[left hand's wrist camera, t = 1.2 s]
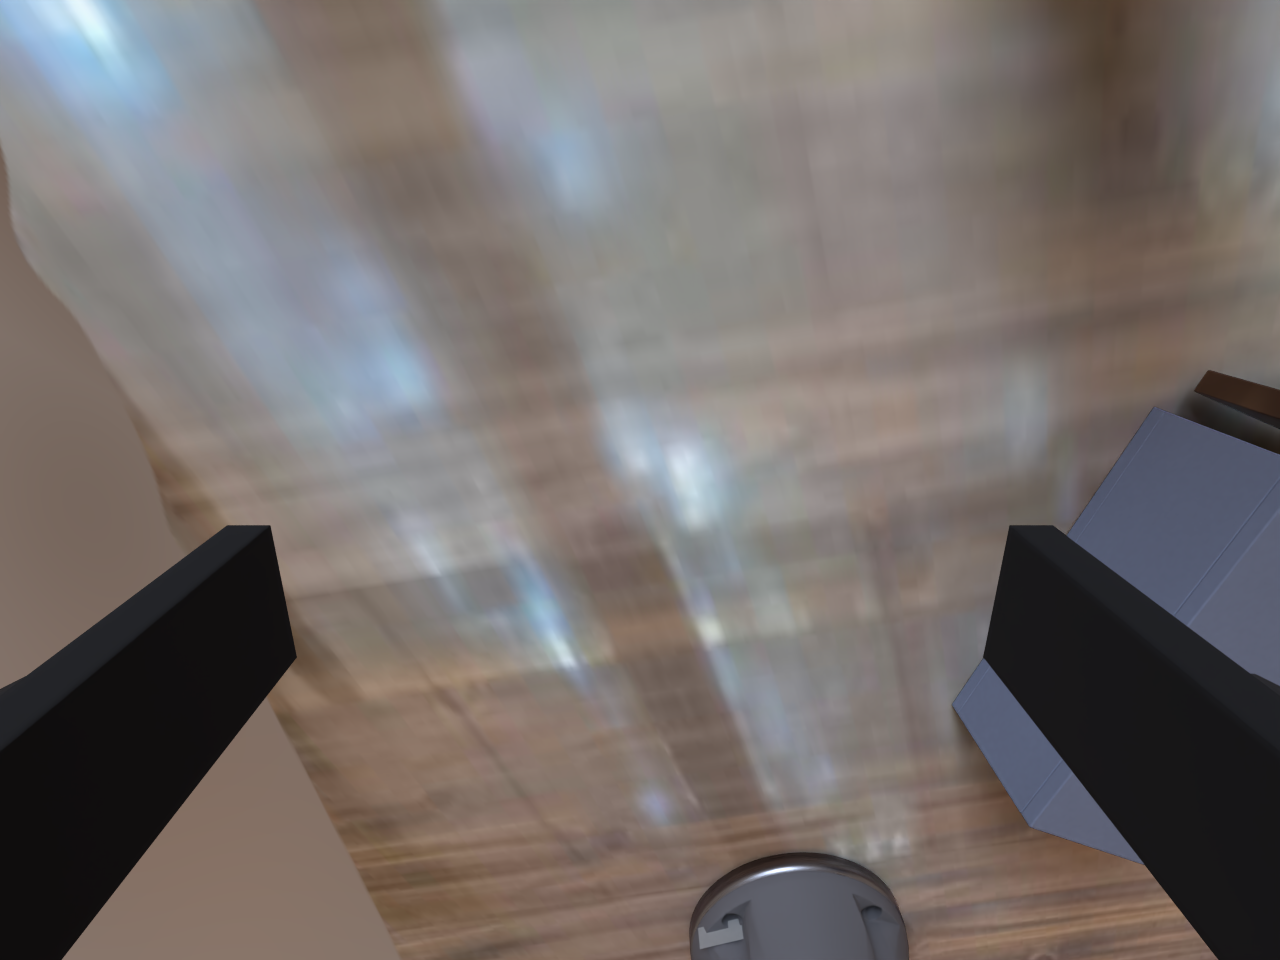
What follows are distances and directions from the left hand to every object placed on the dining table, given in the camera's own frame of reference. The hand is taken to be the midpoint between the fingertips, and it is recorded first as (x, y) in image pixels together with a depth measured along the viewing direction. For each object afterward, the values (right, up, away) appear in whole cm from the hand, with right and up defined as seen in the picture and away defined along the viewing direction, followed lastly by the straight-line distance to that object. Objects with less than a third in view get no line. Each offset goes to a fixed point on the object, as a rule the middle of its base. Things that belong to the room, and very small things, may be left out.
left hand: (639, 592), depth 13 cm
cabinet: (+28, -5, +29) cm, 41 cm away
